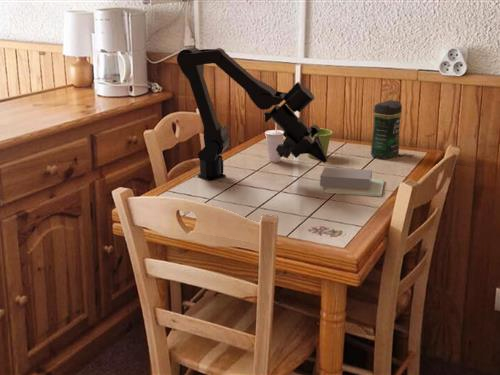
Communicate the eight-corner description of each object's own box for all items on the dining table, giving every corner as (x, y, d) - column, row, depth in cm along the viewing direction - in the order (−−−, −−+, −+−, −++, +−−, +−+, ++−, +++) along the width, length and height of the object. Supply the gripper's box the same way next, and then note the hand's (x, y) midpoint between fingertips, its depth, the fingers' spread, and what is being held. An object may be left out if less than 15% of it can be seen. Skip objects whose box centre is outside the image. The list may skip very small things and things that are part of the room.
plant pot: (336, 155, 229) (337, 130, 227) (324, 162, 222) (325, 136, 219) (311, 151, 234) (311, 127, 231) (298, 158, 226) (299, 132, 223)
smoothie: (276, 164, 219) (277, 122, 215) (260, 161, 223) (260, 119, 218) (288, 160, 224) (288, 118, 220) (272, 157, 228) (272, 116, 223)
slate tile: (320, 176, 195) (369, 179, 191) (324, 167, 203) (372, 170, 200) (320, 187, 196) (369, 190, 192) (324, 177, 204) (371, 181, 201)
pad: (324, 192, 193) (324, 190, 193) (330, 177, 206) (330, 175, 206) (381, 196, 190) (381, 194, 189) (384, 181, 202) (384, 179, 202)
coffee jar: (388, 161, 223) (392, 105, 217) (367, 156, 227) (370, 102, 221) (402, 154, 230) (406, 100, 224) (381, 150, 235) (384, 97, 229)
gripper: (276, 133, 208) (311, 169, 209) (262, 148, 191) (300, 188, 192) (302, 108, 204) (337, 146, 205) (290, 122, 187) (329, 163, 188)
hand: (326, 161), depth 197 cm, fingers closed
